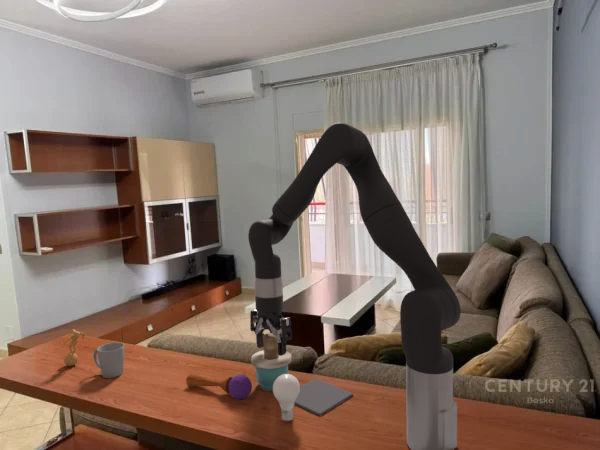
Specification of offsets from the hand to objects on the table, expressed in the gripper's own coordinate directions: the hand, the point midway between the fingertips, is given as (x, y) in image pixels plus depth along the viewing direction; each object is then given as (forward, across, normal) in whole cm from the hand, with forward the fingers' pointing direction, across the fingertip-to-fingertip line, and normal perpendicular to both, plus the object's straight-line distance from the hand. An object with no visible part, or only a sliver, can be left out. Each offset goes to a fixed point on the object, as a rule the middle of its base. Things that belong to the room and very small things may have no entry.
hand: (271, 350), depth 116 cm
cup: (+10, +43, +27) cm, 52 cm away
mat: (+10, -14, -3) cm, 17 cm away
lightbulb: (+10, -16, +10) cm, 21 cm away
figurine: (+10, +58, +32) cm, 67 cm away
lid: (+3, 0, 0) cm, 3 cm away
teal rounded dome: (+10, 0, 0) cm, 10 cm away
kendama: (+10, +8, +12) cm, 18 cm away
